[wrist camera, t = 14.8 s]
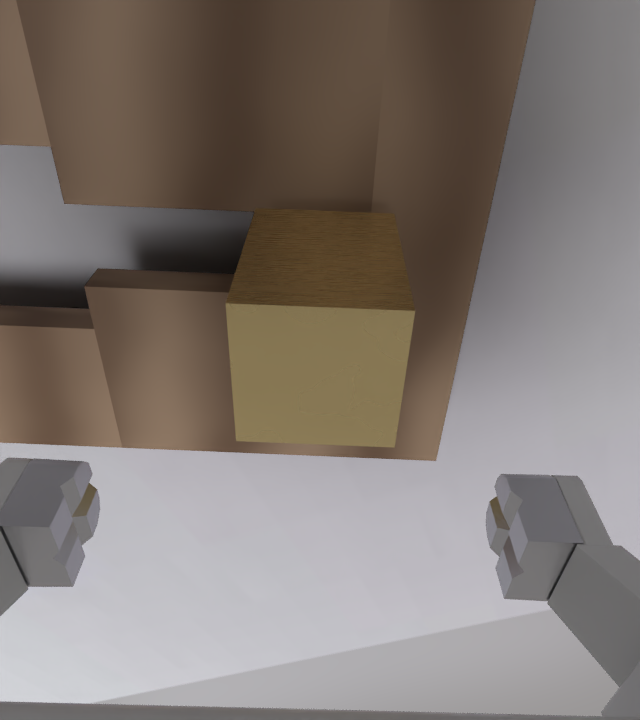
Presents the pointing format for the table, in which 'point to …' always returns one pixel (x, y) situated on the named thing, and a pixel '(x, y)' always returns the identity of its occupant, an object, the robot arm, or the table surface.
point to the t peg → (319, 328)
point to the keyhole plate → (248, 187)
